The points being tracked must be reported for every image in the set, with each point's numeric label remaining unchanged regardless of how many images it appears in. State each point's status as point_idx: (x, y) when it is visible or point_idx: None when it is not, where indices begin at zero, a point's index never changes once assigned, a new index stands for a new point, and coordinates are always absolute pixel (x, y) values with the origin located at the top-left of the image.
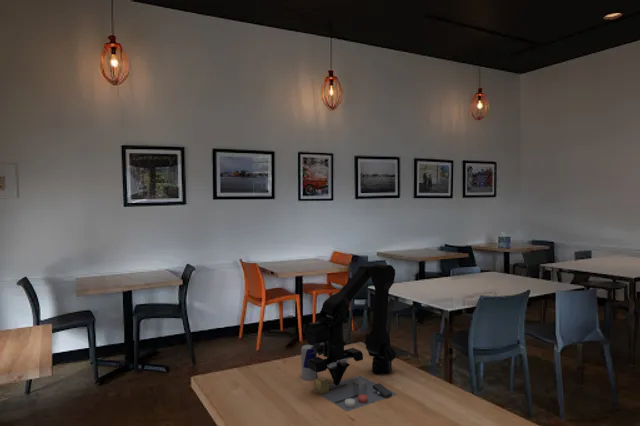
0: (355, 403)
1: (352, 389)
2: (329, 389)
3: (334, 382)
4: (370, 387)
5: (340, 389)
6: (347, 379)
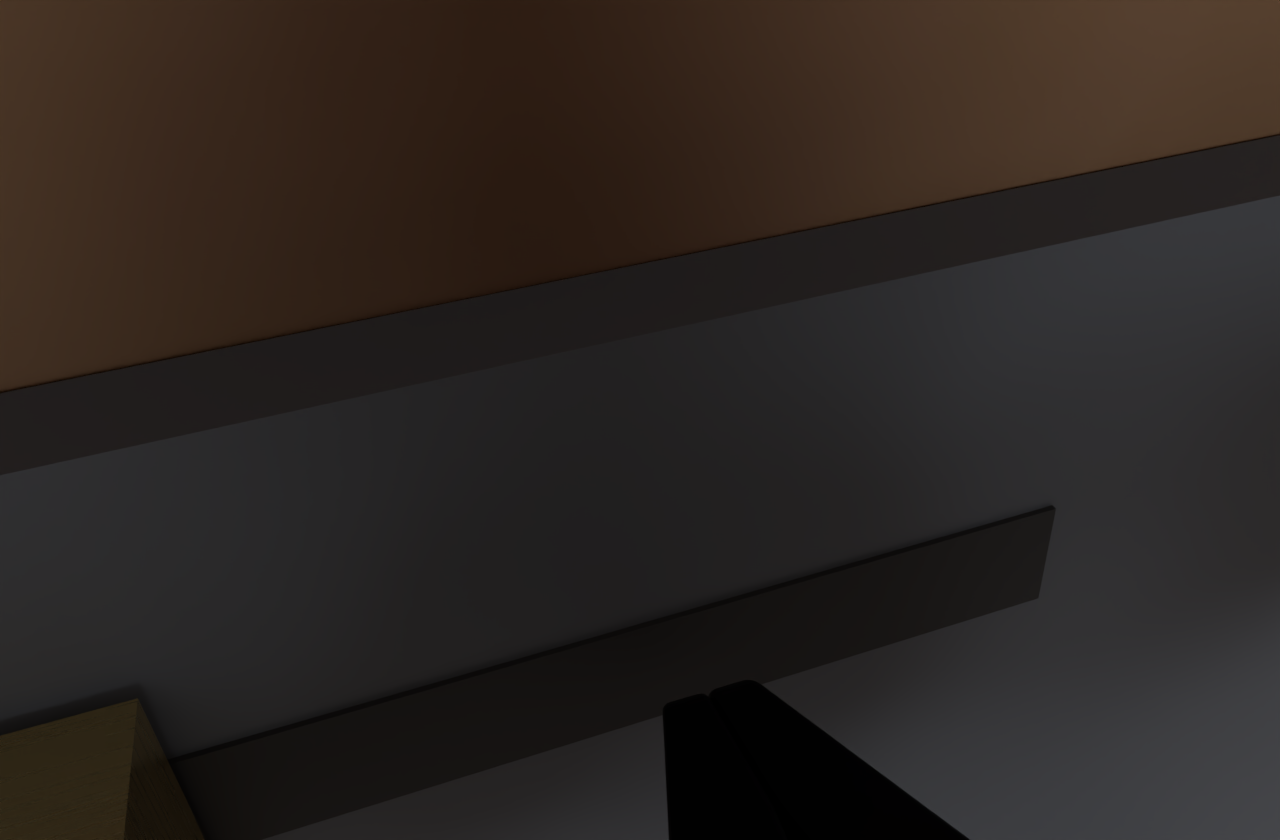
0: None
1: None
2: (364, 748)
3: (668, 819)
4: (1261, 800)
5: None
6: None
